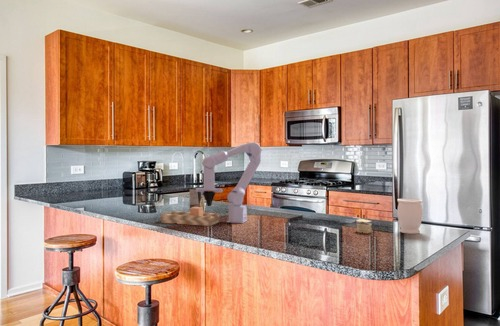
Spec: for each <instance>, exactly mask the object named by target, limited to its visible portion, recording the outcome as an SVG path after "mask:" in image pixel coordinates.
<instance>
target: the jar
mask: <svg viewBox="0 0 500 326" xmlns="http://www.w3.org/2000/svg"><path fill="white" fill-rule="evenodd" d="M396 202H398V205H397V210H396V211H397V213H396V214H397V221H398V226H400V227H399V228H400V229H399V232H400V233H402V234H409V235H417V234H419V233H420V230H419V229H420V228H421V224H422V221H423V220H422V219H423V206H422V203H423V200H422V199H419V198H413V197H412V198H409V197H408V198H407V197H405V198H397V201H396Z"/></svg>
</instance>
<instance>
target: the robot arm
mask: <svg viewBox="0 0 500 326" xmlns="http://www.w3.org/2000/svg"><path fill="white" fill-rule="evenodd" d="M262 151H263V150H262V147H261V146H260V143H258V142H256V141H254V142H253V141H252V142H247V143H243V144H239V145H238V146H235V147H233V148H232V149H230V150H226V151H224V150H218V151H217V153H214V154H210V155H209V156H206V157H204V158H203V159H202V163H201V165H202V167H203V187H195V188H196V192H204V193H203V195H204V200H205V202H206V205H207V207H212V204H213V200H214V197H215V196H216V193H223V192H224V191H223V188H220V187H219V188H218V187H217V188H216V185H215V183H216V182H215V181H216V180H215V178H216V177H215V176H216V175H215V167H216V166H217V165H219V164H222V163H224V162H227V161H228V159H229V158H230V157H233V156H236V155H238V154H241V153H245V154H246V156H248V159H249V163H248V164H247V166H246V168H245V170H244V171H243V173H242V175H241V177H240V179H239V181H238V183H237V184H236V186H235V187H234V188H232V190H231V191H230V192H229V193H228V194H227V196H226V197H227V201H228V202H229V203H228V219H227V220H226V221H225V222H226V223H234V224H235V223H236V224H243V223H245V222H247V221H248V209H247V208H248V207H247V205H244V204H243V203H244V196H245V195H246V190H247V187H248V185H249V184H250V182H251V180H252V179H253V177H254V174H255V172H256V171H257V169H258V167H259V165H260V164H261V161H262V160H261V158H262V157H261V156H262V155H261V154H262Z"/></svg>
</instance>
